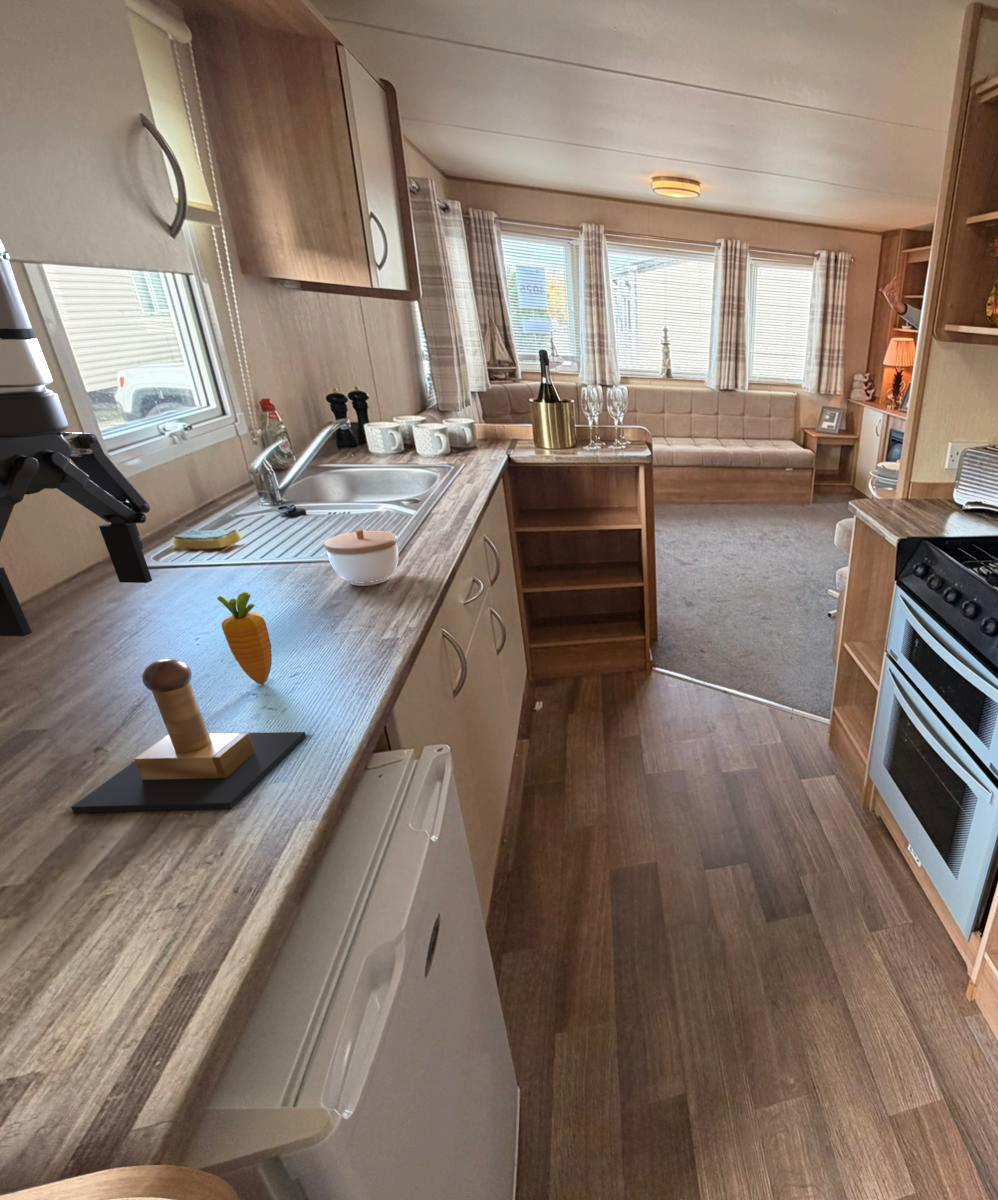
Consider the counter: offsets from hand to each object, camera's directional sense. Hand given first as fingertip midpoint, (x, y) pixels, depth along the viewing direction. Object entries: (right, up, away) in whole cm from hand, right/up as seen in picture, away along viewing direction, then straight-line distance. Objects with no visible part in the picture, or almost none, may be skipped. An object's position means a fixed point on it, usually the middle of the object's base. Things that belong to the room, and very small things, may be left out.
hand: (80, 605), depth 65 cm
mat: (0, -20, +13) cm, 24 cm away
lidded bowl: (-18, +5, +71) cm, 73 cm away
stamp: (+1, -20, +12) cm, 23 cm away
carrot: (-8, -12, +31) cm, 35 cm away
